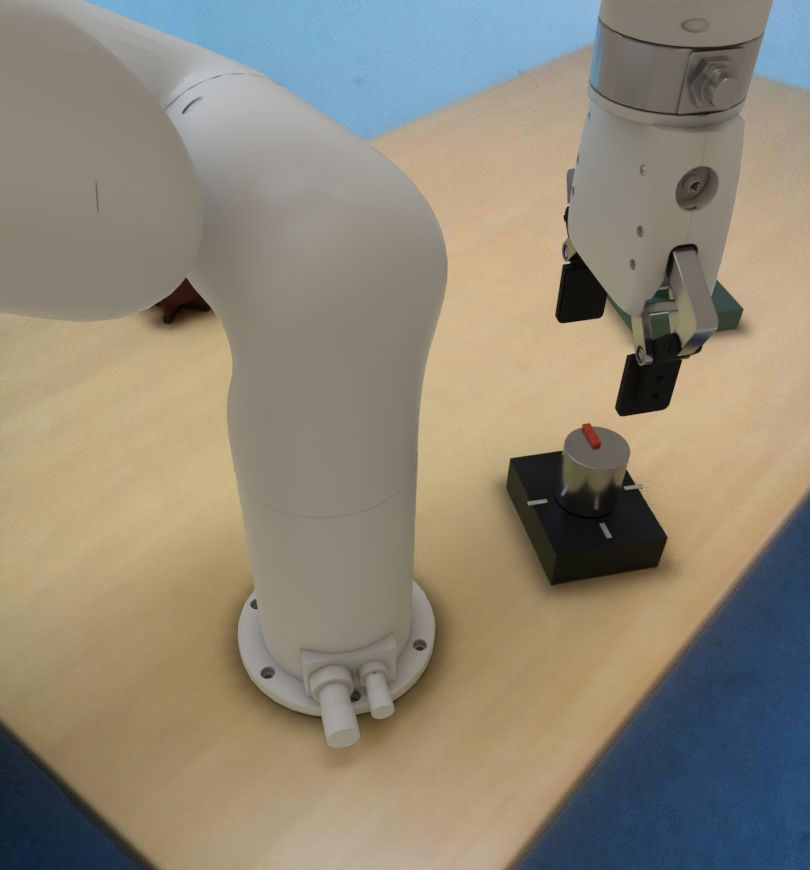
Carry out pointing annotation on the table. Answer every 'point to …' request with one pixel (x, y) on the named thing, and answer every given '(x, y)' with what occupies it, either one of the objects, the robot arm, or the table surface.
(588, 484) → the knob
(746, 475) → the table surface
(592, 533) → the panel
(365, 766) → the table surface
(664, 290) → the housing
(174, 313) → the mate gourd
